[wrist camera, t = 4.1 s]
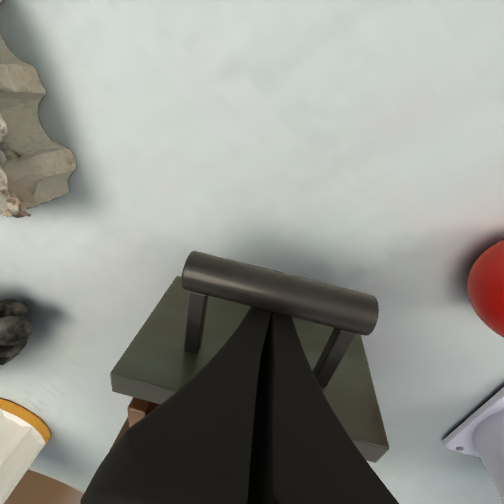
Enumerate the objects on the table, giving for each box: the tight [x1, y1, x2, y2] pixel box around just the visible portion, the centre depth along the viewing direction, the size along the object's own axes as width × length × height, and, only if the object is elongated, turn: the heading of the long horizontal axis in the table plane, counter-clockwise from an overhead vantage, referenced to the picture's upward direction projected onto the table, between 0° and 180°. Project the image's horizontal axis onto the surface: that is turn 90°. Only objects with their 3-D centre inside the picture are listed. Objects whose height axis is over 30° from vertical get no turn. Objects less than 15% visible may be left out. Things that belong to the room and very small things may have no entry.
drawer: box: [110, 251, 389, 462], centre depth 15 cm, size 18×10×6 cm, turn 169°
